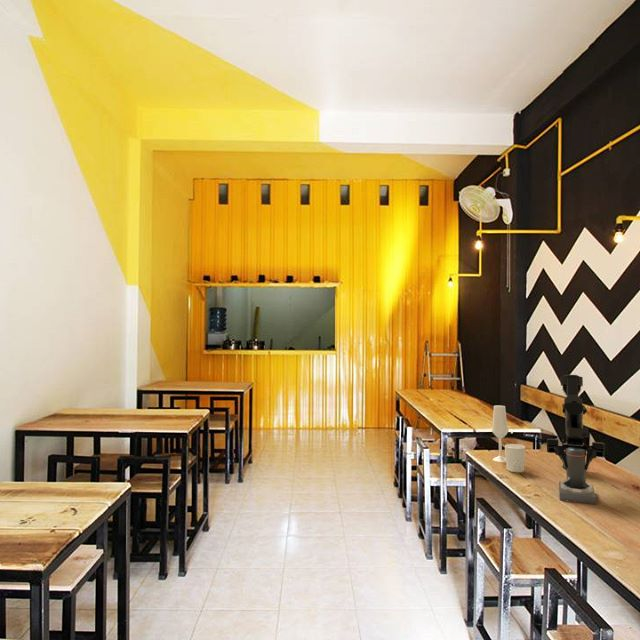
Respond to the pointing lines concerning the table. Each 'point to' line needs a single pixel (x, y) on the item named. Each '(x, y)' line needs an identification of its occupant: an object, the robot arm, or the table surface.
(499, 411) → the champagne flute
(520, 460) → the white cup
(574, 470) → the lens
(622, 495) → the table surface
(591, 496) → the camera body
